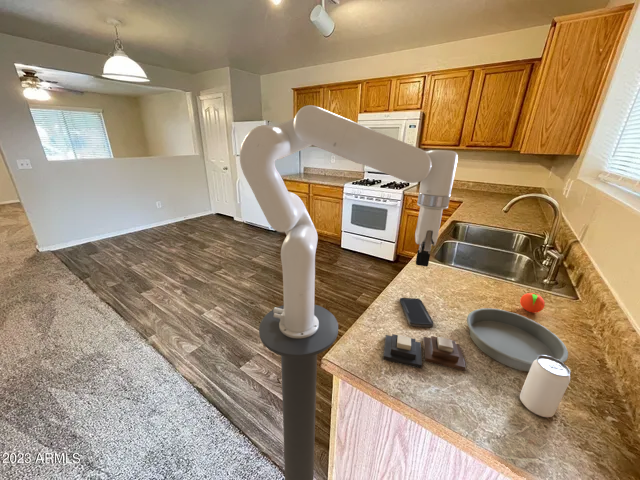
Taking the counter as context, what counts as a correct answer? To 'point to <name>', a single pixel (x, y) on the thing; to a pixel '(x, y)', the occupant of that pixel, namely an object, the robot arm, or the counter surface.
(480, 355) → the counter surface
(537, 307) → the tomato
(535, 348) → the cake pan
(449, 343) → the key
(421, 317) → the phone
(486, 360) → the counter surface
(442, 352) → the keypad
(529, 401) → the can
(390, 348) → the keypad
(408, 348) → the key
